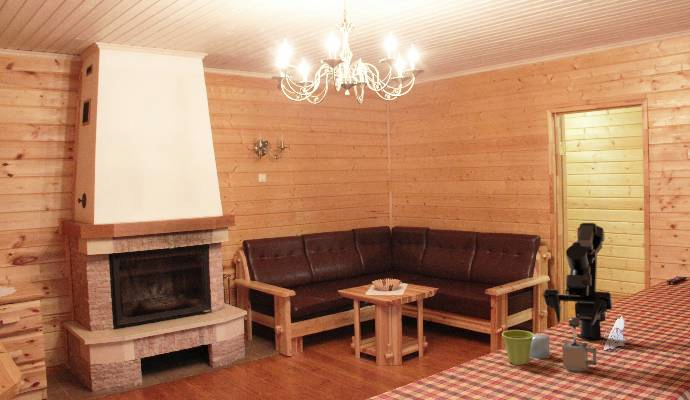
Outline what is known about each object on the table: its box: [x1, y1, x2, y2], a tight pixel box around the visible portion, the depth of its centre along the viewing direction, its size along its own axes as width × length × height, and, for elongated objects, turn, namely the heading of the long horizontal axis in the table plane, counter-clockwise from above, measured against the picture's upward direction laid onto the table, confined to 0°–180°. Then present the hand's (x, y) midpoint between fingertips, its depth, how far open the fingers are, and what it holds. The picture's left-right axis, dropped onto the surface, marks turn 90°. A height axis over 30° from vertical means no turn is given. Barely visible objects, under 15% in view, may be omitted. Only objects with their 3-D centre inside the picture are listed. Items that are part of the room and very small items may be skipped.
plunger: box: [568, 316, 580, 346], centre depth 172 cm, size 3×3×9 cm
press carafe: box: [561, 340, 598, 373], centre depth 171 cm, size 7×9×7 cm
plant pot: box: [501, 329, 535, 366], centre depth 180 cm, size 9×9×9 cm
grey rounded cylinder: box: [530, 333, 551, 360], centre depth 185 cm, size 6×6×6 cm
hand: (575, 323), depth 173 cm, fingers open, 9 cm apart
